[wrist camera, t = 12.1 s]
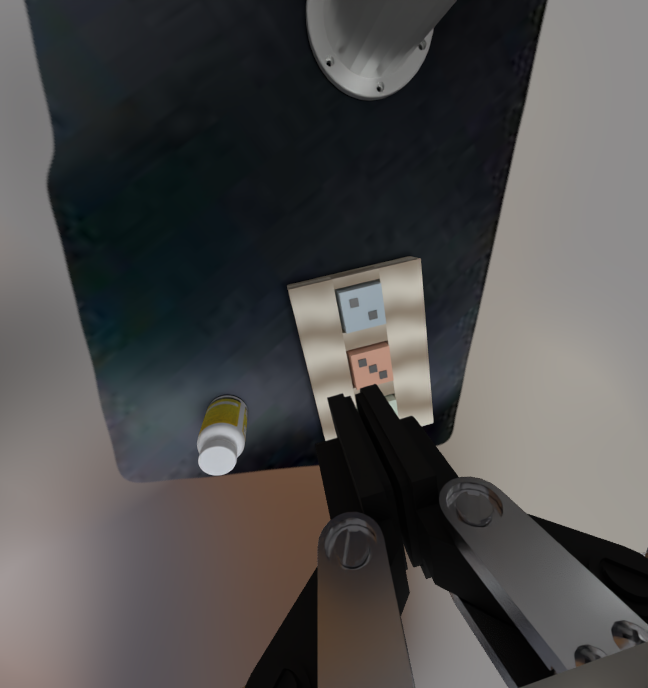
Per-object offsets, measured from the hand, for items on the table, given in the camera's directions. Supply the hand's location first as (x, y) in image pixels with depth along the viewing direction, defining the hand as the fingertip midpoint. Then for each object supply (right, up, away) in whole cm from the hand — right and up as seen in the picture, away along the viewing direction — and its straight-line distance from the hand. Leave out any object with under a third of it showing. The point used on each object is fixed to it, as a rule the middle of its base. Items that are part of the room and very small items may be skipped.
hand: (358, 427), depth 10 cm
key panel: (+4, +1, +33) cm, 33 cm away
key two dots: (+3, +8, +29) cm, 30 cm away
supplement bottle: (-14, -6, +33) cm, 36 cm away
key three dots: (+5, +1, +32) cm, 32 cm away
